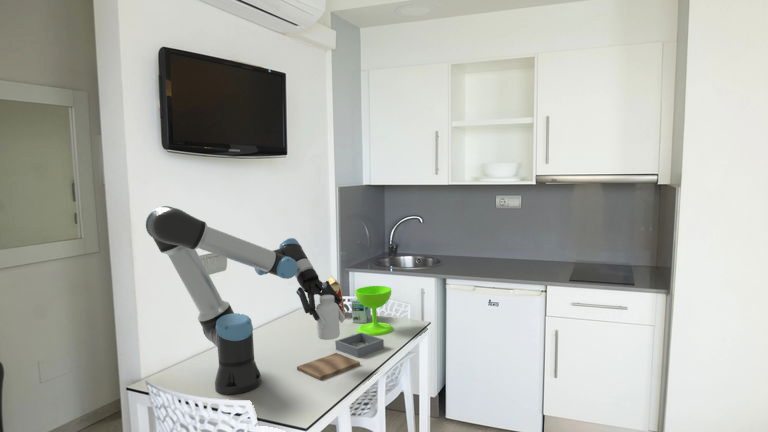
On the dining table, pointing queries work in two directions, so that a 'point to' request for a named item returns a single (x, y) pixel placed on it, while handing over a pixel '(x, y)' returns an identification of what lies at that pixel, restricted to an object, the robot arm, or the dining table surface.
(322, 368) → the board
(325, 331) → the pill bottle
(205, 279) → the robot arm
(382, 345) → the bin
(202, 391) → the dining table surface
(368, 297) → the wineglass
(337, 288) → the milk carton
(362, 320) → the light bulb box
